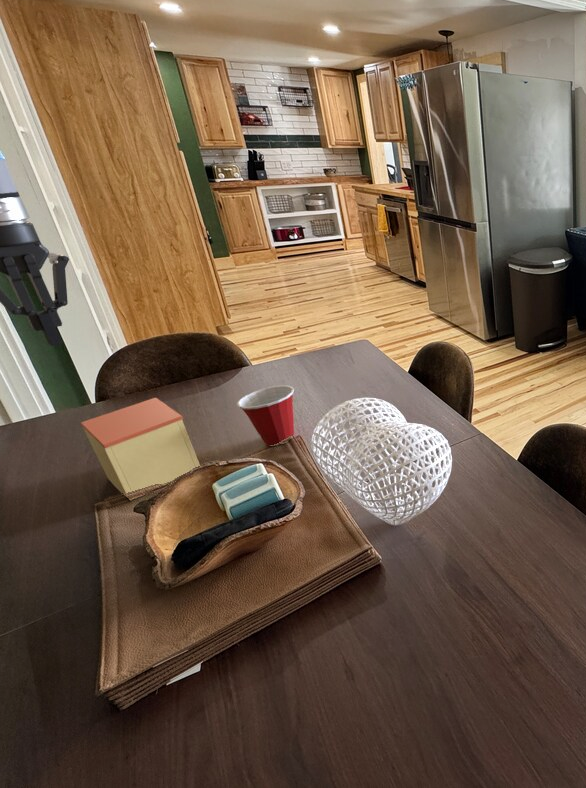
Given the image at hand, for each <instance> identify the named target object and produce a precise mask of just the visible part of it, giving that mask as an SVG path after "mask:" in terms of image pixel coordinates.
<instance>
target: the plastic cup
mask: <svg viewBox="0 0 586 788" xmlns="http://www.w3.org/2000/svg"><path fill="white" fill-rule="evenodd" d="M294 391H295V388H294V387H293V386H292V385H286V384H283V385H273V386H269V387H264V388H261V389H258V390H255V391H253V392H251V393H248V394H245V395H244V396H243V397H241V398H240V399H238V401H237V402H236V406H237V407H238V408H239V409H241V410H242V411H243V413H245V415H246V416H247V417H248V419H249V421H250V422H251V424H252V425H253V428H254V429H255V430H256V432H257V434H258V435H259V437H260V438H261V440H262V442H263V443H264V444H265V445H266V446H267V447H270V445H274V444H277V443H279V442H281V441H282V440H284V439H286V438H288V437H289V436H293V435H294V436H295V425H294V424H295V420H294V419H295V418H294V405H293V401H294V400H293V399H294V398H293V397H294Z"/></svg>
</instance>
